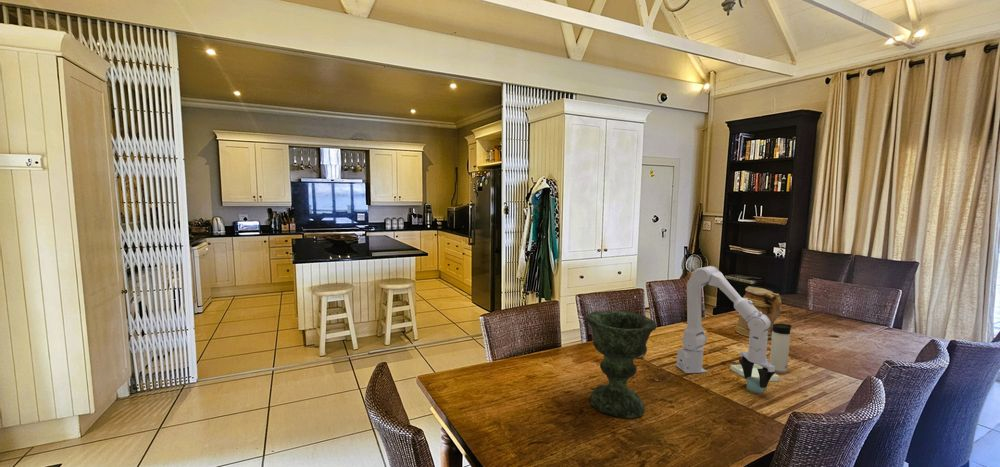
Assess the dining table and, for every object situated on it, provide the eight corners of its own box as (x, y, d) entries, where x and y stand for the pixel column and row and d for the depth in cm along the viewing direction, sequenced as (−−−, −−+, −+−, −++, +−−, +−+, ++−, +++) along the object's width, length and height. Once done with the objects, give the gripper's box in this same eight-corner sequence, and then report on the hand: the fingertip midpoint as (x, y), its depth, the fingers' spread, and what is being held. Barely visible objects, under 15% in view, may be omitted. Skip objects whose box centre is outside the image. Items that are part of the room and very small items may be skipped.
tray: (751, 382, 158) (752, 377, 158) (730, 369, 170) (730, 365, 170) (779, 381, 160) (779, 376, 160) (755, 368, 172) (756, 363, 172)
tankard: (752, 327, 229) (756, 284, 227) (793, 342, 207) (797, 293, 205) (727, 330, 224) (730, 285, 222) (765, 344, 202) (769, 295, 200)
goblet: (604, 426, 125) (608, 331, 123) (572, 392, 147) (575, 311, 144) (665, 417, 131) (670, 327, 128) (626, 386, 153) (629, 308, 150)
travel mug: (791, 374, 166) (795, 327, 165) (773, 372, 168) (776, 325, 166) (783, 368, 173) (787, 322, 171) (766, 366, 174) (770, 321, 172)
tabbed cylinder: (753, 393, 149) (754, 383, 149) (743, 387, 154) (743, 377, 154) (770, 392, 150) (771, 382, 150) (759, 386, 155) (760, 376, 155)
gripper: (783, 354, 144) (780, 391, 145) (752, 340, 158) (750, 374, 159) (765, 355, 143) (763, 392, 144) (736, 340, 157) (734, 374, 158)
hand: (755, 382), depth 152 cm, fingers open, 7 cm apart
